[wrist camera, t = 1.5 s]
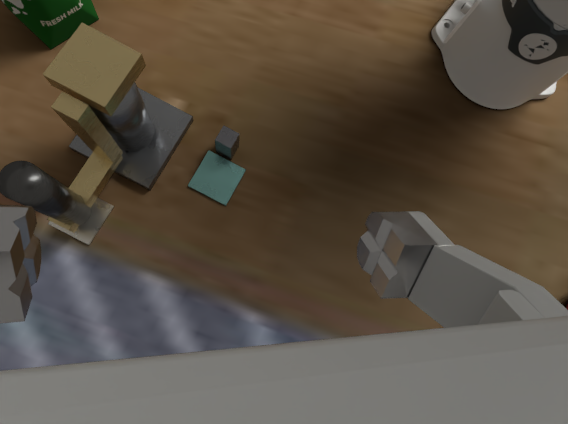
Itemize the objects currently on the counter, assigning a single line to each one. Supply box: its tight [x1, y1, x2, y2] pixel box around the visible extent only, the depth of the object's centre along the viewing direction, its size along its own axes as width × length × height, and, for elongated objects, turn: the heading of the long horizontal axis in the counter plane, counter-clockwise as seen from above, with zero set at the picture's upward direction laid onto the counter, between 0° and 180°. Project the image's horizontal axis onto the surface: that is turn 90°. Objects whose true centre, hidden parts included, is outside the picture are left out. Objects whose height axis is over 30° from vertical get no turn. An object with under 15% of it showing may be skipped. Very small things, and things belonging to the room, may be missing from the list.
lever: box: [0, 23, 146, 233], centre depth 39 cm, size 16×6×13 cm, turn 153°
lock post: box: [48, 82, 246, 245], centre depth 41 cm, size 18×18×13 cm
